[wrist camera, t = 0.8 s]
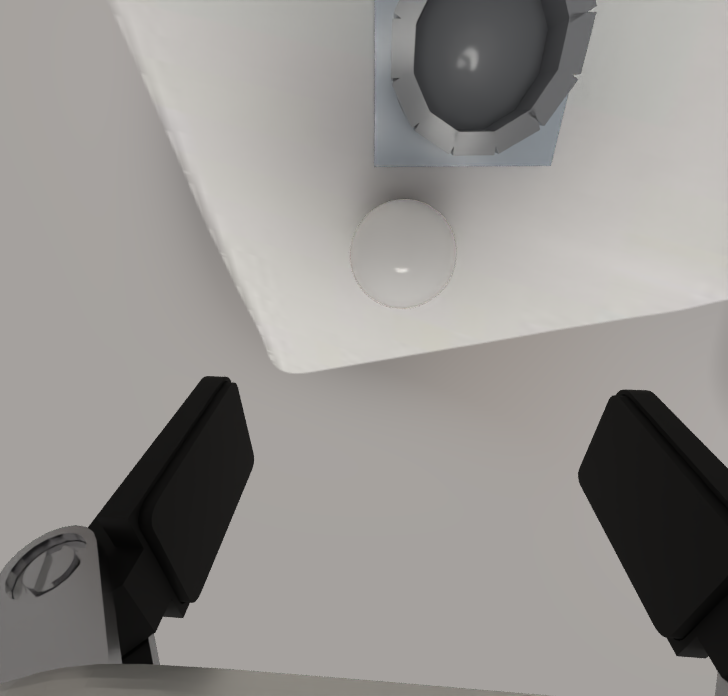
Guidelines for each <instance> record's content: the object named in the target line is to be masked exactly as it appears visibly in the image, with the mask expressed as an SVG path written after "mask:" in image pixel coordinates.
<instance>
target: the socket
mask: <svg viewBox="0 0 728 696" xmlns="http://www.w3.org/2000/svg"><path fill="white" fill-rule="evenodd" d="M595 6H597V5H596V0H375V121H374V167H424V166H551V163H552V158H553V154H554V150H555V146H556V142H557V138H558V134H559V130H560V126H561V121H562V117H563V113H564V109H565V105H566V101H567V97H568V93H569V91H570V90H571V89H572V87H573V86H574V84H575V83H576V82H577V80H578V79H577V78H576V77H574V76H573V75H577V74H581V71H582V67H583V63H584V59H585V55H586V51H587V47H588V43H589V39H590V35H591V31H592V27H593V23H594V20H595V16H596V12H588V11H589V10H591V9H592V8H594V7H595Z"/></svg>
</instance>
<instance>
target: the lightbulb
mask: <svg viewBox="0 0 728 696" xmlns="http://www.w3.org/2000/svg"><path fill="white" fill-rule="evenodd" d="M456 257H457V248H456V241H455V237H454V234H453V231H452V229H451V227H450V225H449V223H448V222H447V220H446V219H445V218H444V217H443V216H442V214H440V213H439V212H438V211H437V210H436V209H434V208H433V207H431V206H430V205H428V204H426V203H423V202H421V201H417V200H412V199H397V200H392V201H389V202H386V203H383V204H381V205H379V206H377V207H376V208H374V209H373V210H372V211H370V212H369V213H368V214H367V215H366V216H365V217H364V218H363V219H362V221H361V222H360V223H359V225H358V227H357V228H356V230H355V233H354V235H353V238H352V241H351V246H350V264H351V269H352V272H353V275H354V278H355V280H356V282H357V284H358V285H359V287H360V288H361V289H362V291H363V292H364V293H365V294H366V295H367V296H368V297H370V298H371V299H372V300H374V301H375V302H377V303H379V304H381V305H384V306H387V307H390V308H396V309H407V308H413V307H417V306H420V305H423V304H425V303H427V302H429V301H430V300H432V299H433V298H435V297H436V296H437V295H438V294H439V293H440V292H441V291H442V290H443V289H444V288H445V286H446V285H447V284H448V282H449V280H450V278H451V276H452V274H453V271H454V268H455V264H456Z"/></svg>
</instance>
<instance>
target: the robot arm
mask: <svg viewBox="0 0 728 696" xmlns="http://www.w3.org/2000/svg"><path fill="white" fill-rule="evenodd" d="M253 464H254V455H253V450H252V445H251V441H250V437H249V433H248V429H247V424H246V420H245V416H244V412H243V407H242V403H241V399H240V395H239V391H238V387H237V384H236V383H231V380H230V379H229V378H228V377H214V376H206V377H204V378H202V379H201V381H200V382H199V383H198V385H197V386H196V387H195V389H194V390H193V391H192V393H191V394H190V395H189V397H188V398H187V399H186V400H185V402H184V403H183V405H182V406H181V407H180V408H179V410H178V411H177V412H176V414H175V415H174V416H173V417H172V419H171V420H170V421H169V423H168V424H167V425H166V426H165V428H164V429H163V430H162V432H161V433H160V434H159V435H158V437H157V438H156V439H155V441H154V442H153V443H152V445H151V446H150V447H149V448H148V450H147V451H146V452H145V454H144V455H143V456H142V458H141V459H140V460H139V462H138V463H137V464H136V465H135V467H134V468H133V470H132V471H131V472H130V473H129V475H128V476H127V477H126V478H125V480H124V481H123V483H122V484H121V485H120V487H119V488H118V489H117V490H116V492H115V493H114V494H113V495H112V497H111V498H110V500H109V501H108V502H107V503H106V505H105V506H104V507H103V509H102V510H101V511H100V513H99V514H98V515H97V516H96V518H95V519H94V520H93V522H92V523H91V524H90V526H89V527H88V528H87V527H83V526H77V525H75V526H68V527H62V528H59V529H56V530H53V531H51V532H48V533H46V534H44V535H42V536H41V537H39V538H37V539H35V540H34V541H32V542H31V543H29V544H28V545H27V546H25V547H24V548H23V549H21V550H20V551H19V552H18V553H17V554H16V555H15V556H14V557H13V558H12V559H11V560H10V561H9V562H8V563H7V564H6V565H5V567H4V568H3V570H2V572H1V573H0V696H547V695H535V694H523V693H511V692H500V691H488V690H477V689H465V688H454V687H442V686H430V685H418V684H406V683H395V682H383V681H370V680H359V679H346V678H333V677H321V676H309V675H296V674H284V673H271V672H259V671H246V670H234V669H218V668H202V667H183V666H168V665H160V663H159V657H158V652H157V647H156V643H155V637H154V633H155V632H156V630H157V628H158V626H159V623H160V621H161V619H162V617H176V618H183V617H184V615H185V613H186V610H187V608H188V606H189V603H193V602H195V601H196V600H197V599H198V597H199V595H200V593H201V591H202V589H203V586H204V584H205V581H206V579H207V577H208V574H209V572H210V570H211V567H212V565H213V562H214V560H215V557H216V555H217V553H218V550H219V548H220V545H221V543H222V541H223V538H224V536H225V533H226V531H227V529H228V526H229V523H230V521H231V519H232V516H233V514H234V511H235V509H236V506H237V504H238V502H239V500H240V497H241V494H242V492H243V490H244V487H245V485H246V483H247V480H248V478H249V475H250V473H251V471H252V468H253ZM578 478H579V483H580V485H581V487H582V489H583V491H584V493H585V495H586V497H587V499H588V501H589V502H590V504H591V506H592V508H593V510H594V512H595V514H596V516H597V518H598V520H599V522H600V523H601V525H602V527H603V529H604V531H605V533H606V535H607V537H608V539H609V541H610V542H611V544H612V546H613V548H614V550H615V552H616V554H617V556H618V558H619V560H620V562H621V563H622V565H623V567H624V569H625V571H626V573H627V575H628V577H629V579H630V581H631V582H632V585H633V586H634V588H635V590H636V592H637V594H638V596H639V598H640V600H641V602H642V603H643V605H644V607H645V609H646V611H647V613H648V615H649V617H650V619H651V621H652V623H653V625H654V626H655V628H656V629H657V631H658V632H659V633H660V634H661V635H662V636H664V637H666V638H667V639H668V641H669V643H670V645H671V646H672V648H673V650H674V652H675V654H676V656H682V657H697V658H707V657H708V656H709V657H710V659H711V660H712V662H713V664H714V666H715V667H716V669H717V670H718V674H717V683H716V692H715V696H728V468H727V467H726V466H725V465H724V464H723V463H722V462H721V461H720V460H719V459H718V458H717V457H716V456H715V455H714V454H713V453H712V452H711V451H710V450H709V449H708V448H707V447H706V446H705V445H704V444H703V443H702V442H701V441H700V440H699V439H698V438H697V437H696V436H695V435H694V434H693V433H692V432H691V431H690V430H689V429H688V428H687V427H686V426H685V425H684V424H683V423H682V422H681V421H680V419H679V418H677V417H676V416H675V414H674V413H673V412H672V411H671V410H670V409H668V407H667V406H666V405H665V404H664V403H663V402H662V401H661V400H660V399H659V398H658V397H657V396H656V395H655V394H654V393H652V392H651V391H647V390H620V391H619V392H618V393H617V394H616V395H615V396H612V397H610V399H609V401H608V403H607V405H606V408H605V410H604V412H603V415H602V417H601V419H600V422H599V424H598V426H597V429H596V431H595V433H594V436H593V438H592V441H591V443H590V445H589V447H588V450H587V452H586V454H585V457H584V459H583V461H582V464H581V466H580V469H579V472H578Z"/></svg>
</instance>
